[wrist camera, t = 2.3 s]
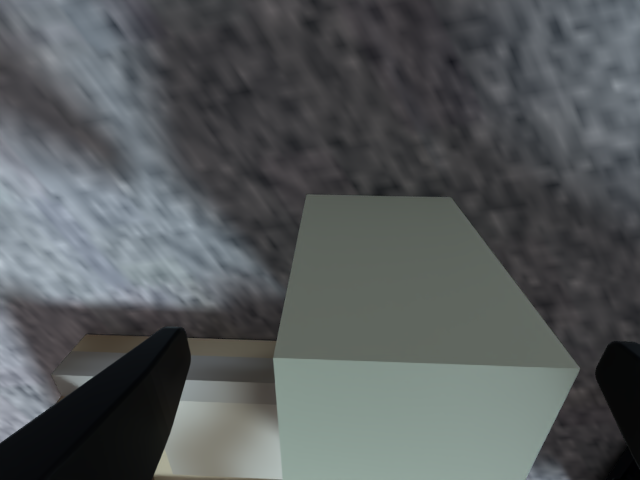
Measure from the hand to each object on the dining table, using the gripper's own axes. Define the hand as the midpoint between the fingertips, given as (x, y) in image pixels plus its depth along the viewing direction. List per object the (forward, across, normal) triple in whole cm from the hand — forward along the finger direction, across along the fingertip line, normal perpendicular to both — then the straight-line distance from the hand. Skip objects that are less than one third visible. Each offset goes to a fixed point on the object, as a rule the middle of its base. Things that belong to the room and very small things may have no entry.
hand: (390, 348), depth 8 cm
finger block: (+4, 0, 0) cm, 4 cm away
